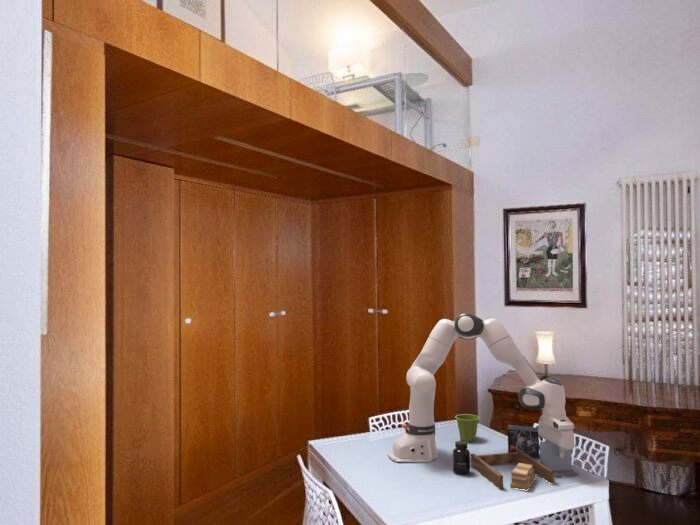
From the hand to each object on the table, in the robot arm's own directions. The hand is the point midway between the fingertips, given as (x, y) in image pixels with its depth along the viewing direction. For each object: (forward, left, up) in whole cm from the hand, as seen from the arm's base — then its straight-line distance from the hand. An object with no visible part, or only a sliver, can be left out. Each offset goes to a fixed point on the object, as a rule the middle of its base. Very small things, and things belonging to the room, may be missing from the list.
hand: (555, 454), depth 203 cm
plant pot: (-17, +47, -7) cm, 51 cm away
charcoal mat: (0, 0, -7) cm, 7 cm away
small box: (-2, +21, -7) cm, 22 cm away
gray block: (0, 0, -6) cm, 6 cm away
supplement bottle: (-37, +8, -7) cm, 39 cm away
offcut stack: (-19, -8, -7) cm, 22 cm away
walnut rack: (-19, +1, -7) cm, 21 cm away
